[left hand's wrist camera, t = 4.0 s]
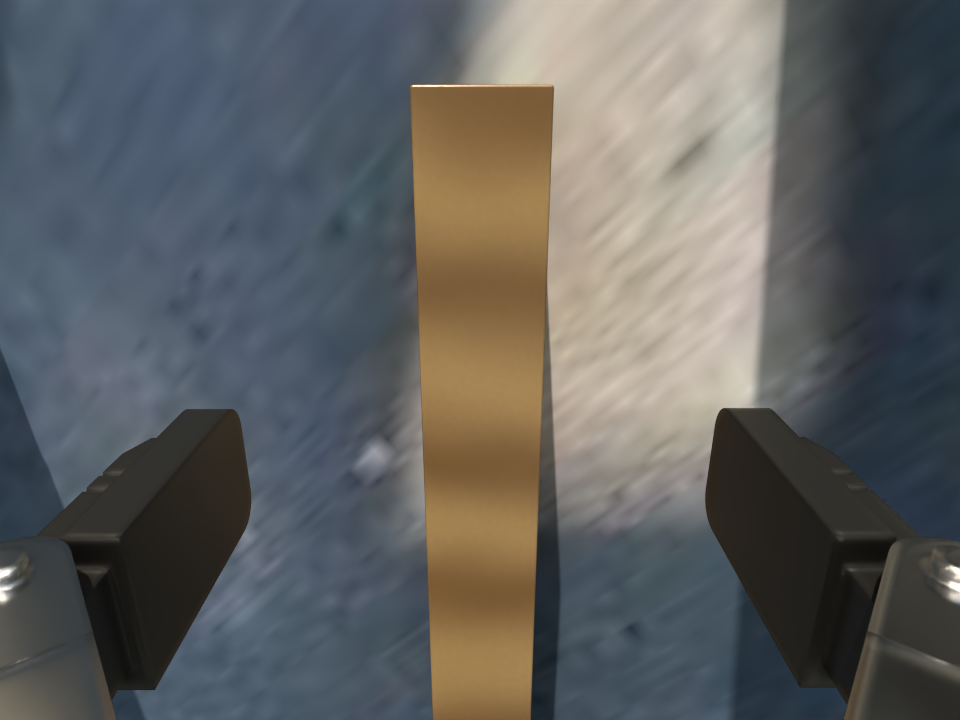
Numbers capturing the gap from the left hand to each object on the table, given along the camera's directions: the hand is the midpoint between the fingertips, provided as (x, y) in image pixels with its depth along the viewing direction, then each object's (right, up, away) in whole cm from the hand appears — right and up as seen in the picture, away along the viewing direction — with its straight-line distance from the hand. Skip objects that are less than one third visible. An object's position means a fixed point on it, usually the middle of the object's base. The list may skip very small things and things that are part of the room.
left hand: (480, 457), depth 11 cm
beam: (0, -15, +28) cm, 31 cm away
